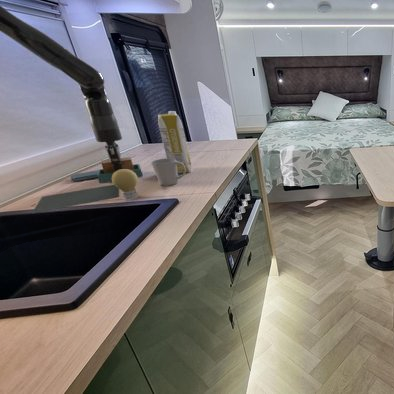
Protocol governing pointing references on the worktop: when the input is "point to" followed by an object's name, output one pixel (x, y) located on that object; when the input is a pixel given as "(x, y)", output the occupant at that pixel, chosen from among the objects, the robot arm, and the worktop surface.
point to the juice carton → (174, 140)
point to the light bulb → (126, 183)
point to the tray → (108, 177)
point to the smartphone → (84, 176)
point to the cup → (167, 171)
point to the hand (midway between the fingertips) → (120, 171)
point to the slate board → (76, 198)
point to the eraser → (109, 167)
